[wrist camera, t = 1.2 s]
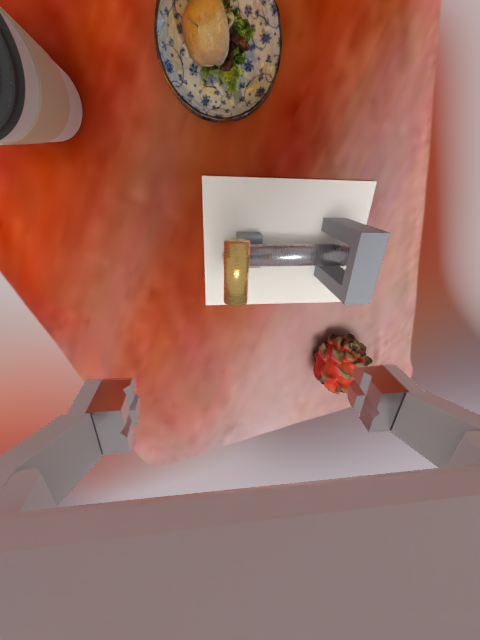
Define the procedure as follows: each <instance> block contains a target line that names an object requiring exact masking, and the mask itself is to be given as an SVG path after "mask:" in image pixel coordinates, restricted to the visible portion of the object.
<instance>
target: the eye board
mask: <svg viewBox="0 0 480 640" xmlns="http://www.w3.org/2000/svg"><path fill="white" fill-rule="evenodd" d="M376 183H377V182H375V181H349V180H319V179H289V178H259V177H229V176H202V199H203V231H204V262H205V294H206V305H227V304H225V303H224V264H223V259H222V252H223V251H224V240H226V239H231V238H240V239H246V240H249V241H250V244H348V245H350V246H351V247H350V251H349V256H348V260H347V265H346V266H268V267H249V278H248V298H247V303H246V304H273V303H314V302H342V303H343V304H370V302H371V298H372V295H373V291H374V288H375V285H376V281H377V278H378V274H379V271H380V267H381V264H382V260H383V257H384V253H385V250H386V246H387V243H388V240H389V236H390V233H389V232H386V231H383V230H380V229H377V228H374V227H371V226H368V225H366V224H367V220H368V216H369V212H370V208H371V204H372V199H373V195H374V191H375V187H376Z"/></svg>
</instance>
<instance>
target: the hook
mask: <svg viewBox="0 0 480 640" xmlns="http://www.w3.org/2000/svg"><path fill="white" fill-rule="evenodd" d="M350 247H351V246H350V245H348V244H250V241H249V240H246V239H240V238H231V239H226V240H224V251H223V252H222V259H223V264H224V303H225V304H227V305H230V306H242V305H245V304H246V303H247V298H248V278H249V267H268V266H346V265H347V260H348V256H349V251H350Z"/></svg>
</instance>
